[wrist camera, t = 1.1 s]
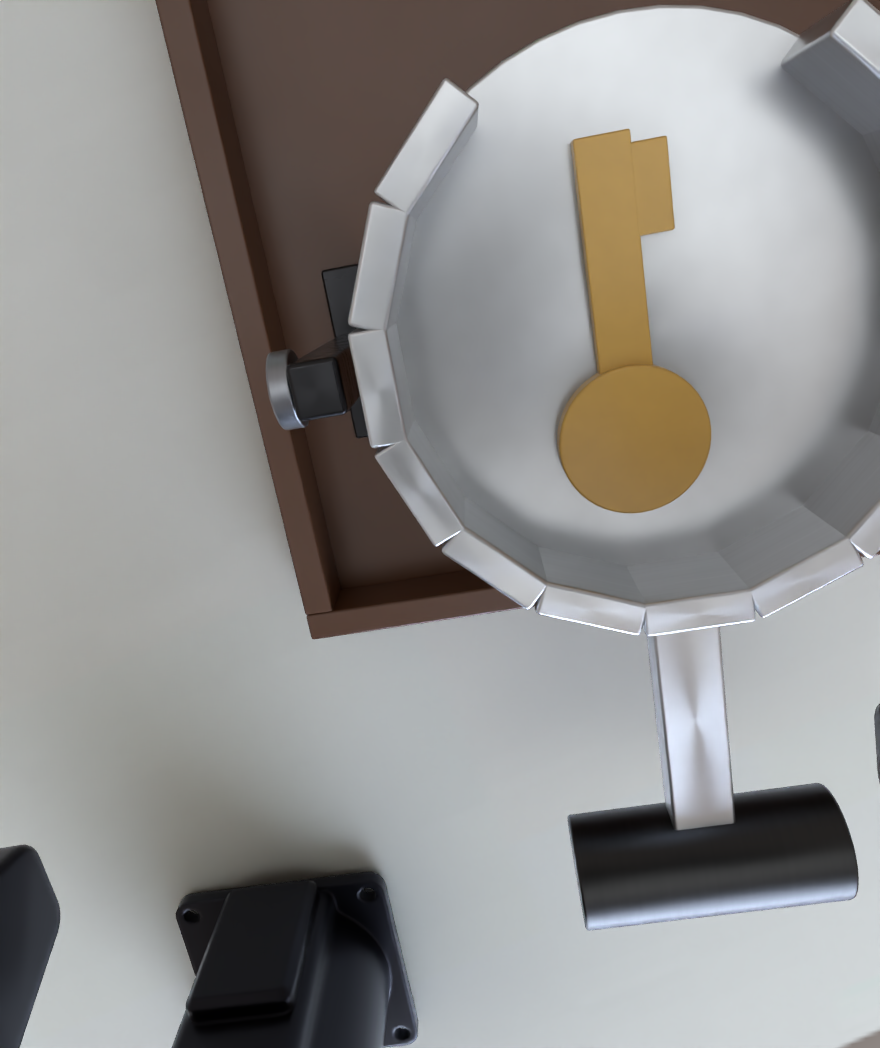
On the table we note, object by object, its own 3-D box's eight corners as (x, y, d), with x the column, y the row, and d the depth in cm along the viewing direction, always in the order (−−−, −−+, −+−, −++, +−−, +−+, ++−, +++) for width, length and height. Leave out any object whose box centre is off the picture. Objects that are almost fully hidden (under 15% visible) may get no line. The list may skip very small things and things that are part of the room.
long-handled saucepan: (918, 834, 18) (992, 928, 15) (478, 888, 18) (480, 986, 16) (916, -40, 13) (1025, -113, 10) (319, 83, 14) (287, 42, 11)
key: (711, 494, 15) (717, 501, 14) (566, 518, 15) (569, 525, 14) (681, 120, 13) (688, 115, 12) (517, 151, 13) (518, 148, 13)
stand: (881, 346, 20) (1069, 383, 13) (344, 437, 21) (293, 510, 14) (877, 166, 18) (1083, 118, 12) (309, 273, 19) (238, 277, 13)
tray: (941, 516, 21) (986, 539, 19) (323, 610, 22) (311, 640, 21) (947, -386, 16) (1010, -472, 14) (133, -193, 17) (94, -247, 15)
